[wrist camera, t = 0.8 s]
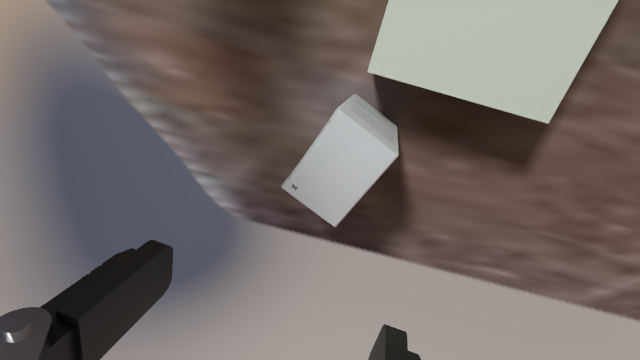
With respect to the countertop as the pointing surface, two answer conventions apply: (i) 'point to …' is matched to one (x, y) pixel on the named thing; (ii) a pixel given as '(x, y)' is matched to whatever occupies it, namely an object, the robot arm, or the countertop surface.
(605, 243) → the countertop surface
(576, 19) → the block
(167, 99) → the countertop surface
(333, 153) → the small box
